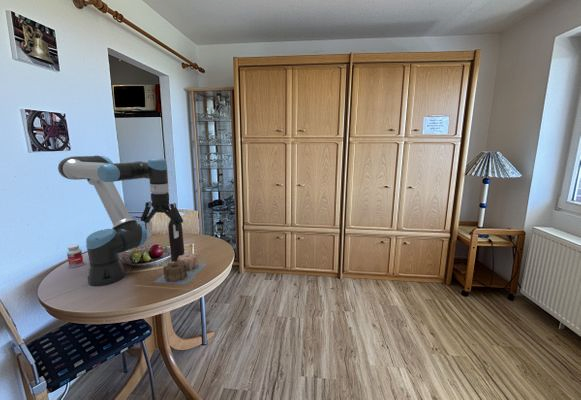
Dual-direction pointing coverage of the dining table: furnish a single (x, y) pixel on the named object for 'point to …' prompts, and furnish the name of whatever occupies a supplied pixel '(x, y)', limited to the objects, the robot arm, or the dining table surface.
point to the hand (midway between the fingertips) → (163, 236)
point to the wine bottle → (175, 242)
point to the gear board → (189, 276)
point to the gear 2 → (189, 260)
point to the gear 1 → (175, 271)
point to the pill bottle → (75, 256)
